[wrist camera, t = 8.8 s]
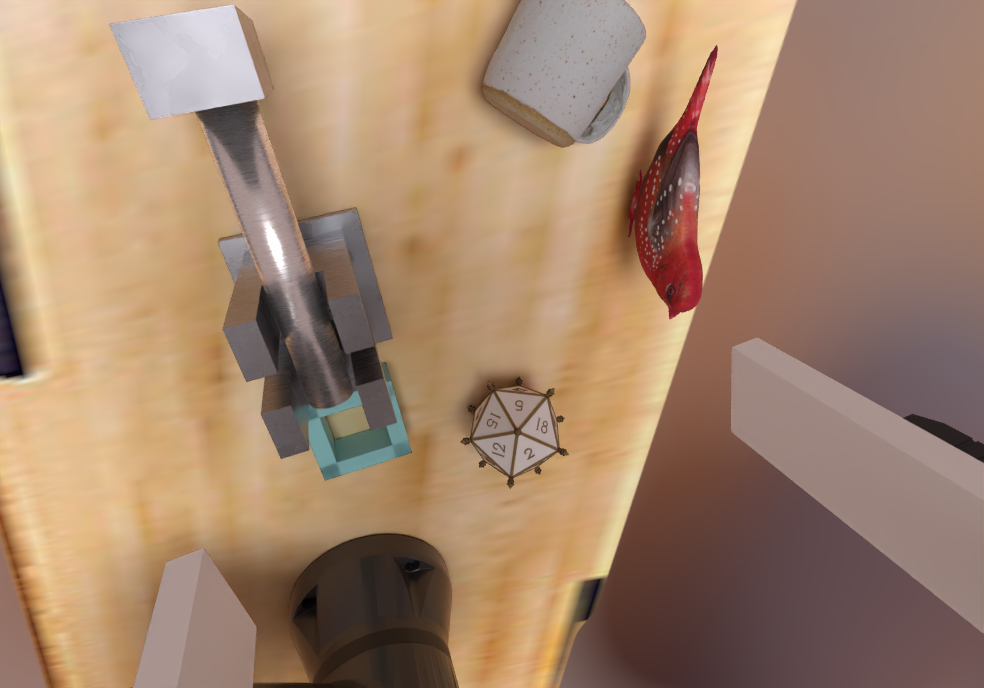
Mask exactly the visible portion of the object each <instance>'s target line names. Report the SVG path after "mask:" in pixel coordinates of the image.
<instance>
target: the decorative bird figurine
mask: <svg viewBox="0 0 984 688" xmlns="http://www.w3.org/2000/svg"><path fill="white" fill-rule="evenodd" d="M717 51H718V48H717V45H716V46H715V48H714V50H713V51H712V52H711V54H710V56H709V58H708V60H707V62H706V65H705V67H704V69H703V71H702V74H701V76H700V78H699V81H698V83H697V85H696V87H695V89H694V91H693V94H692V96H691V98H690V101H689V103H688V105H687V107H686V110H685V111H684V113H683V115H682V117H681V118H680V120H679V121H678V123H677V124H676V125H675V126H674V128H673V129H672V130H671V131H670V133H669V134H668V135H667V136H666V137H665V139H664V140H663V141H662V142H661V144H660V145H659V147H658V149H657V151H656V154H655V156H654V159H653V161H652V163H651V165H650V167H649V169H648V171H647V173H646V175H645V177H644V179H642V173H641V170H640V181H637V182H636V189H635V193H634V194H633V199H632V203H631V206H630V210H629V218H630V226H629V235H628V238H629V237H630V235H631V231H632V225H633V221H634V220H635V237H636V246H637V251H638V255H639V259H640V262H641V265H642V267H643V269H644V271H645V273H646V275H647V277H648V278H649V280H650V281H651V282H652V284H653V286H654V287H655V289H656V291H657V293H658V295H659V296H660V298H661V299H662V300H663V301H664V302H665V303H666V305H667V306H668V308H669V319H672V318H673V317H675V316H676V315H677V314H679V313H680V312H686V311H689V310H691V309H693V308H694V307H695V306H696V305H697V304H698V302H699V300H700V298H701V294H702V281H703V271H702V264H701V260H700V256H699V251H698V245H697V226H698V208H699V194H700V163H699V145H698V139H697V124H698V120H699V116H700V113H701V109H702V106H703V102H704V100H705V96H706V92H707V89H708V86H709V82H710V78H711V76H712V72H713V69H714V66H715V61H716V58H717Z"/></svg>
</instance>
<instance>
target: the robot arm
mask: <svg viewBox="0 0 984 688" xmlns="http://www.w3.org/2000/svg"><path fill="white" fill-rule="evenodd" d="M731 401H732V403H731V405H732V406H731V409H732V410H731V432H733V433H734V434H735V435H736V436H737V437H739V438H740V439H741V440H743V441H744V442H745V443H746V444H748V445H749V446H750V447H751V448H752V449H754V450H755V451H756V452H757V453H759V454H760V455H761V456H762V457H764V458H765V459H766V460H767V461H769V462H770V463H771V464H772V465H774V466H775V467H776V468H777V469H779V470H780V471H781V472H783V473H784V474H785V475H786V476H787V477H789V478H790V479H792V481H794V482H795V483H796V484H797V485H799V486H800V487H801V488H802V489H804V490H805V491H806V492H807V493H809V494H810V495H811V496H812V497H814V498H815V499H816V500H817V501H819V502H820V503H821V504H822V505H824V506H825V507H827V509H829V510H830V511H831V512H832V513H834V514H835V515H836V516H837V517H839V518H840V519H841V520H843V521H844V522H845V523H846V524H847V525H849V526H850V527H851V528H852V529H854V530H855V531H856V532H857V533H859V534H860V535H861V536H862V537H864V538H865V539H866V540H867V541H869V542H870V543H871V544H872V545H874V546H875V547H876V548H877V549H879V550H880V551H881V552H882V553H884V554H885V555H886V556H887V557H889V558H890V559H891V560H892V561H894V562H895V563H896V564H897V565H899V566H900V567H901V568H902V569H904V570H905V571H906V572H907V573H909V574H910V575H911V576H912V577H914V578H915V579H916V580H917V581H919V582H920V583H921V584H922V585H924V586H925V587H926V588H927V589H929V590H930V591H931V592H933V593H934V594H935V595H936V596H937V597H939V598H940V599H941V600H942V601H944V602H945V603H946V604H947V605H949V606H950V607H951V608H952V609H954V610H955V611H956V612H957V613H959V614H960V615H961V616H962V617H964V618H965V619H966V620H967V621H969V622H970V623H971V624H972V625H974V626H975V627H976V628H977V629H979V630H980V631H981V632H982V633H984V444H982V443H980V442H979V441H978V442H974V441H973V440H972V438H971V437H969V436H967V435H965V434H963V433H961V432H959V431H958V430H956V429H954V428H952V427H950V426H948V425H946V424H944V423H941V422H938V421H934V420H931V419H928V418H924V417H921V416H918V415H914V414H911V415H909V416H907V417H905V418H901V417H900V416H898V415H896V414H894V413H892V412H891V411H888V410H887V409H885V408H883V407H882V406H880V405H878V404H876V403H874V402H872V401H871V400H869V399H867V398H865V397H863V396H862V395H860V394H858V393H856V392H854V391H853V390H851V389H849V388H847V387H845V386H843V385H842V384H840V383H838V382H836V381H834V380H833V379H831V378H829V377H827V376H826V375H824V374H822V373H820V372H818V371H817V370H815V369H813V368H811V367H809V366H807V365H805V364H804V363H802V362H800V361H798V360H797V359H795V358H793V357H791V356H789V355H787V354H786V353H784V352H782V351H780V350H778V349H777V348H775V347H773V346H771V345H769V344H768V343H766V342H764V341H762V340H761V339H758V338H755V339H753V340H750V341H747V342H745V343H742V344H740V345H737V346H734V347H732V398H731ZM451 603H452V588H451V582H450V578H449V575H448V571H447V568H446V565H445V562H444V560H443V559H442V557H441V556H440V554H439V553H438V552H437V551H436V550H435V549H434V548H433V547H431V546H430V545H428V544H427V543H425V542H423V541H421V540H418V539H415V538H412V537H407V536H402V535H375V536H369V537H364V538H360V539H356V540H353V541H350V542H347V543H345V544H342V545H340V546H338V547H336V548H334V549H332V550H330V551H328V552H327V553H325V554H324V555H322V556H321V557H319V558H318V559H317V560H316V561H314V562H313V563H312V564H311V565H310V566H309V567H308V568H307V569H306V570H305V571H304V572H303V574H302V575H301V576H300V578H299V579H298V581H297V582H296V584H295V586H294V588H293V591H292V594H291V598H290V618H289V624H290V631H291V636H292V639H293V642H294V644H295V646H296V649H297V651H298V654H299V656H300V659H301V661H302V664H303V666H304V669H305V671H306V674H307V676H308V679H309V681H310V683H253V677H254V662H255V646H256V631H257V627H256V625H255V624H254V622H253V621H252V619H251V618H250V616H249V615H248V613H247V612H246V610H245V609H244V607H243V606H242V604H241V603H240V601H239V600H238V598H237V597H236V595H235V594H234V592H233V591H232V589H231V588H230V586H229V585H228V583H227V582H226V580H225V579H224V577H223V576H222V574H221V573H220V571H219V570H218V568H217V567H216V565H215V564H214V562H213V561H212V559H211V558H210V556H209V555H208V553H207V552H206V550H205V549H204V548H202V549H199V550H197V551H194V552H191V553H189V554H186V555H184V556H181V557H178V558H176V559H173V560H170V561H168V562H166V565H165V568H164V572H163V576H162V580H161V584H160V587H159V591H158V595H157V599H156V603H155V606H154V610H153V614H152V618H151V622H150V625H149V629H148V633H147V637H146V641H145V645H144V648H143V652H142V656H141V660H140V664H139V667H138V671H137V675H136V679H135V683H134V686H133V687H130V688H459V686H458V682H457V679H456V675H455V671H454V667H453V664H452V660H451V656H450V652H449V648H448V640H449V627H450V615H451Z"/></svg>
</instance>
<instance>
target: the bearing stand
mask: <svg viewBox="0 0 984 688" xmlns="http://www.w3.org/2000/svg"><path fill="white" fill-rule="evenodd" d="M297 222H298V225H299V228H300V231H301V234H302V237H303V240H304V243H305V246H306V249H307V252H308V255H309V258H310V261H311V264H312V267H313V270H314V273H315V276H316V279H317V282H318V285H319V288H320V291H321V294H322V297H323V300H324V303H325V306H326V309H327V311H328V314H329V317H330V320H331V323H332V326H333V329H334V332H335V335H336V338H337V341H338V344H339V347H340V350H341V353H342V356H343V359H344V362H345V365H346V368H347V371H348V374H349V377H350V380H351V383H352V386H353V389H354V391H355V390H357V391H358V394H359V397H360V400H361V403H362V406H363V409H364V412H365V415H366V418H367V421H368V424H369V427H370V430H371V431H372V430H375V429H379V428H382V427H385V426H388V425H392V424H395V423H397V420H396V416H395V412H394V409H393V405H392V401H391V398H390V394H389V390H388V387H387V383H386V379H385V376H384V372H383V368H382V365H381V361H380V357H379V354H378V350H377V347H376V343H379V342H382V341H386V340H390V339H393V338H392V334H391V331H390V327H389V324H388V320H387V316H386V313H385V309H384V306H383V302H382V298H381V295H380V291H379V288H378V284H377V280H376V277H375V273H374V270H373V266H372V263H371V259H370V255H369V252H368V248H367V245H366V241H365V237H364V234H363V230H362V227H361V223H360V220H359V216H358V212H357V209H356V207H355V208H351V209H347V210H342V211H338V212H334V213H329V214H325V215H321V216H316V217H312V218H308V219H303V220H299V221H297ZM218 244H219V247H220V249H221V251H222V254H223V256H224V259H225V261H226V263H227V266H228V268H229V271H230V273H231V275H232V278H233V280H234V282H235V287H234V290H233V294H232V297H231V301H230V305H229V308H228V312H227V315H226V319H225V322H224V326H223V331H224V333H225V335H226V338H227V340H228V342H229V344H230V347H231V349H232V351H233V353H234V355H235V358H236V360H237V362H238V364H239V367H240V369H241V371H242V373H243V375H244V378H245V380H246V382H248V381H252V380H255V379H259V378H263V377H265V382H264V391H263V400H262V410H261V415H262V418H263V420H264V422H265V424H266V427H267V429H268V431H269V433H270V435H271V438H272V440H273V442H274V444H275V447H276V449H277V451H278V453H279V455H280V458H281V459H282V458H285V457H288V456H292V455H295V454H298V453H301V452H305V451H308V450H309V426H308V404H309V401H308V399H307V396H306V394H305V391H304V389H303V386H302V383H301V381H300V378H299V376H298V373H297V371H296V368H295V366H294V363H293V360H292V358H291V355H290V353H289V350H288V348H287V345H286V343H285V340H284V337H283V335H282V332H281V330H280V327H279V325H278V322H277V320H276V317H275V314H274V312H273V309H272V307H271V304H270V302H269V299H268V297H267V294H266V291H265V289H264V286H263V284H262V281H261V279H260V276H259V274H258V271H257V268H256V266H255V263H254V261H253V258H252V256H251V253H250V251H249V248H248V245H247V243H246V240H245V238H244V235H243V234H238V235H234V236H230V237H225V238H221V239H219V241H218Z"/></svg>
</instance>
